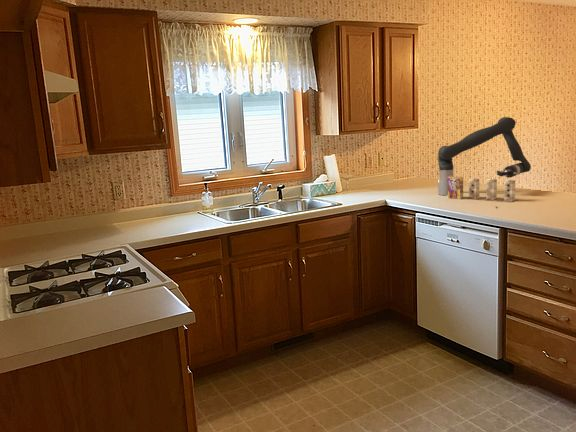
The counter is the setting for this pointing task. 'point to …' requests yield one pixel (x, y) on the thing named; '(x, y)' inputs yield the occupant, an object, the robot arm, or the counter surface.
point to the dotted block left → (474, 188)
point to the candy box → (455, 187)
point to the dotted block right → (509, 190)
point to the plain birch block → (491, 189)
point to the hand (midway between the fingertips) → (500, 174)
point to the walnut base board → (491, 200)
